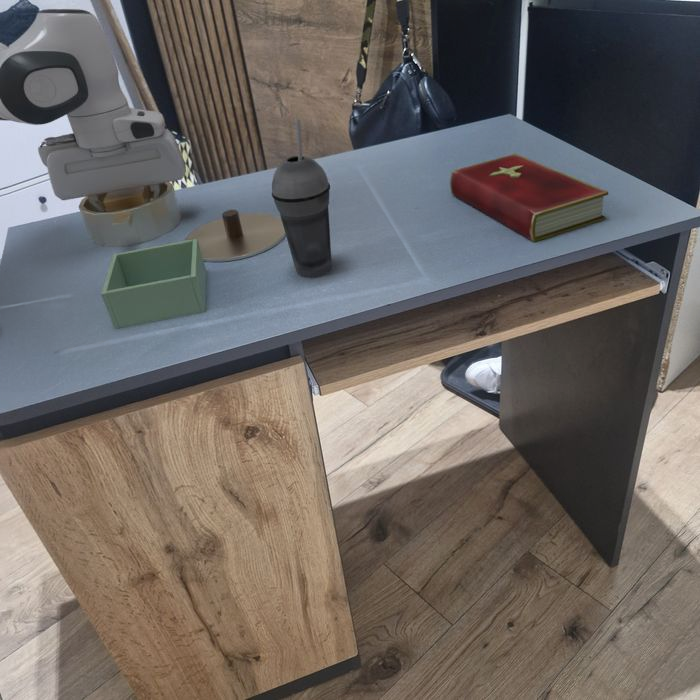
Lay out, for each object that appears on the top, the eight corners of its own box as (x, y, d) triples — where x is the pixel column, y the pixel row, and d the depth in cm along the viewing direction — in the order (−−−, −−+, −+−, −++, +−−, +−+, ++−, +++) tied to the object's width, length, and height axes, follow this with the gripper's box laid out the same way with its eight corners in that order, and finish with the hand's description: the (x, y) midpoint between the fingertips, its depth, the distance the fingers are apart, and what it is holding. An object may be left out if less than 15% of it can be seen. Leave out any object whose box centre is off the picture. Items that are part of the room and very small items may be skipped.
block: (116, 237, 102) (103, 201, 99) (120, 223, 107) (108, 188, 104) (153, 230, 103) (142, 195, 99) (156, 216, 108) (145, 182, 104)
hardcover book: (531, 243, 85) (533, 213, 82) (450, 195, 101) (449, 169, 99) (605, 219, 88) (608, 190, 86) (514, 177, 104) (515, 151, 102)
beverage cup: (304, 257, 89) (278, 110, 78) (351, 263, 86) (331, 110, 75) (277, 282, 84) (245, 129, 73) (326, 289, 81) (300, 130, 70)
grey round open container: (82, 264, 96) (68, 227, 93) (101, 215, 113) (89, 182, 109) (179, 246, 98) (168, 209, 94) (184, 200, 114) (174, 167, 111)
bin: (116, 332, 78) (100, 294, 75) (125, 290, 88) (112, 253, 85) (206, 315, 79) (195, 276, 76) (207, 274, 89) (197, 238, 85)
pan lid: (183, 274, 90) (174, 244, 87) (186, 230, 102) (178, 203, 100) (292, 253, 91) (287, 223, 88) (282, 212, 104) (277, 185, 101)
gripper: (28, 146, 92) (64, 234, 100) (170, 122, 94) (194, 210, 102) (38, 134, 98) (71, 218, 105) (172, 111, 99) (195, 196, 107)
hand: (132, 214), depth 104 cm, fingers closed on block, 6 cm apart
